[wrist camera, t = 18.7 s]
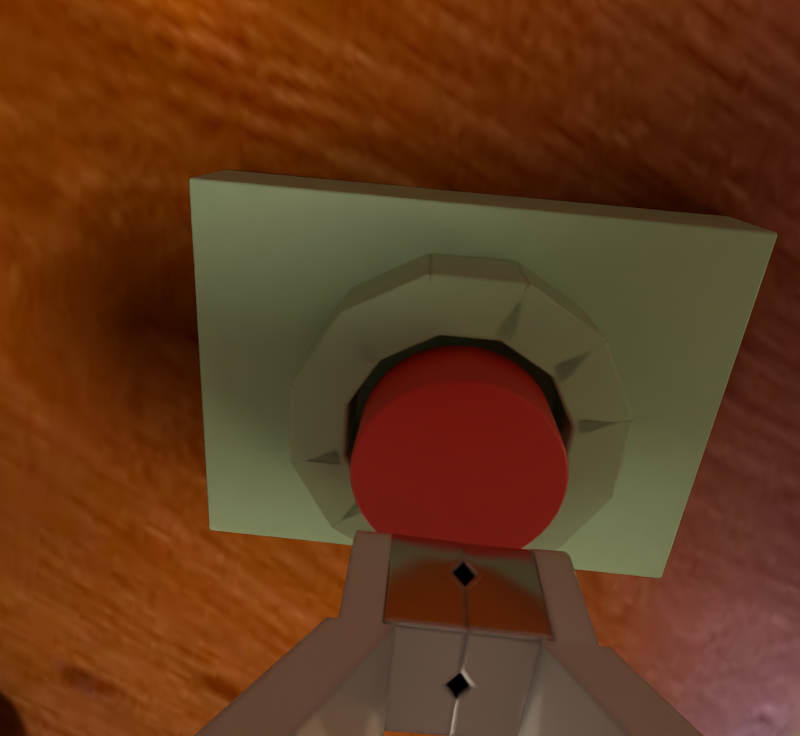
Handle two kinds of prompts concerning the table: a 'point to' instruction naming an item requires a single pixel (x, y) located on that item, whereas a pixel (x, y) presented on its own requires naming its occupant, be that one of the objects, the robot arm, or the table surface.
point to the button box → (462, 342)
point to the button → (459, 451)
